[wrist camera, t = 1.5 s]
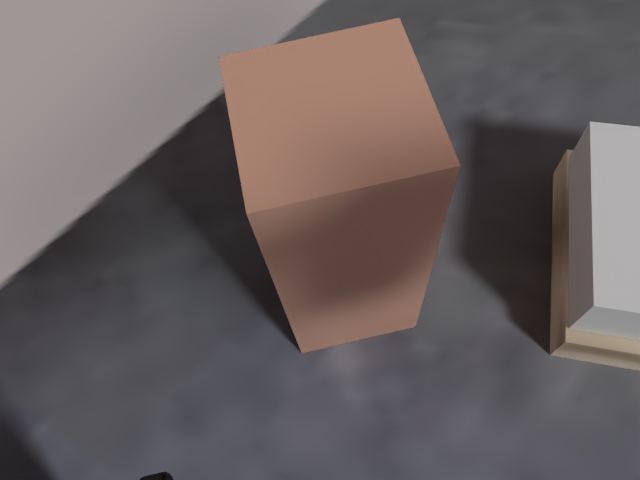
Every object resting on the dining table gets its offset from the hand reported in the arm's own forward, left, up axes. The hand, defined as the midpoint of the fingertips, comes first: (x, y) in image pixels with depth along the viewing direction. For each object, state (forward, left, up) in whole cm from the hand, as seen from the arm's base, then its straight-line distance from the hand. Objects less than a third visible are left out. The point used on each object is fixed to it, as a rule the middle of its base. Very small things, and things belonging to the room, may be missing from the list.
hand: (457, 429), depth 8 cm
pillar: (+3, +7, -13) cm, 16 cm away
